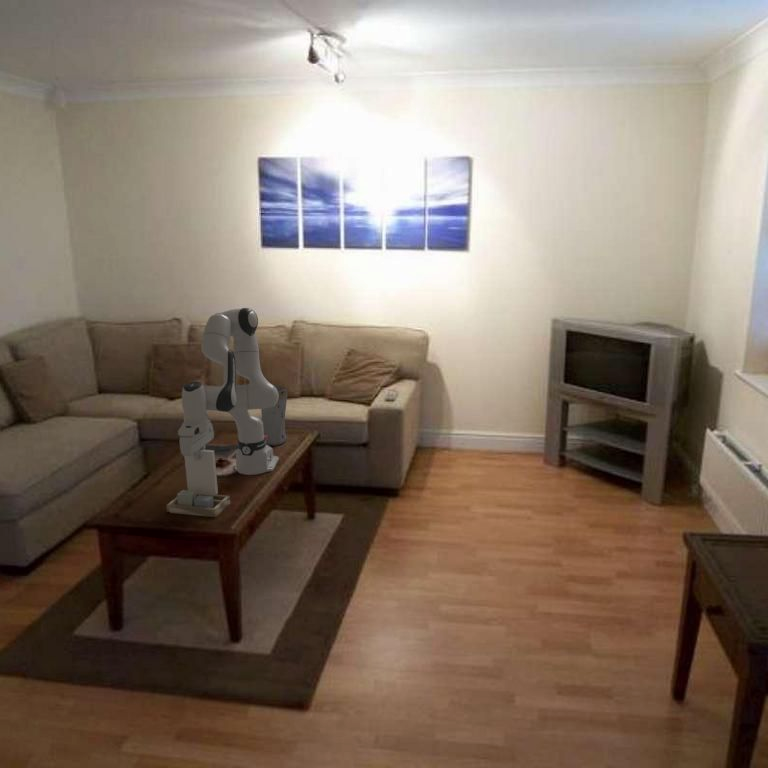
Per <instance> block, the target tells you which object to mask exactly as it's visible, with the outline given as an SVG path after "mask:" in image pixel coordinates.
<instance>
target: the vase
mask: <svg viewBox="0 0 768 768" xmlns="http://www.w3.org/2000/svg"><path fill="white" fill-rule="evenodd" d="M273 386H275V388H276V389H277V391H278V395H279V397H278V401H277V403H276V405H275V406H273V407H270V408H266V409H260V410H261V421H262V422H263V430H264V436H266V435H267V436H268V439H267V440H266V444H267V445H268V446H270V447H279V446H282V445H283V444H284V443H285V442H287V435H286V429H285V427H286V424H285V423H286V422H285V420H286V419H285V418H286V409H287V402H288V401H287V400H288V387H287V386H281V385H278V384H277V385H274V384H273Z"/></svg>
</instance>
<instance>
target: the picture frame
mask: <svg viewBox="0 0 768 768" xmlns="http://www.w3.org/2000/svg"><path fill="white" fill-rule="evenodd" d="M238 449H239V448H238V444H219V443H207V444H206V445H205V450H214V454H215V459H218V458H224V459H229V460H230V459H232V458H233V457H234V456H236V451H237V450H238Z"/></svg>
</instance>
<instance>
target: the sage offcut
mask: <svg viewBox="0 0 768 768" xmlns="http://www.w3.org/2000/svg"><path fill="white" fill-rule="evenodd" d="M176 497H177V500H178V505H184V506H194V499H195V498H196V497H197V494H196V491H188V489H187V490H185V489H184V490H183V489H182V490H180V491H179V492H177V494H176ZM194 507H195V506H194Z"/></svg>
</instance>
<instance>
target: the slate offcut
mask: <svg viewBox="0 0 768 768" xmlns="http://www.w3.org/2000/svg"><path fill="white" fill-rule="evenodd" d="M194 506H195V507H205V508H214V501H213V496H202V495H199V496H197V497H196V498H195V499H194Z"/></svg>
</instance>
